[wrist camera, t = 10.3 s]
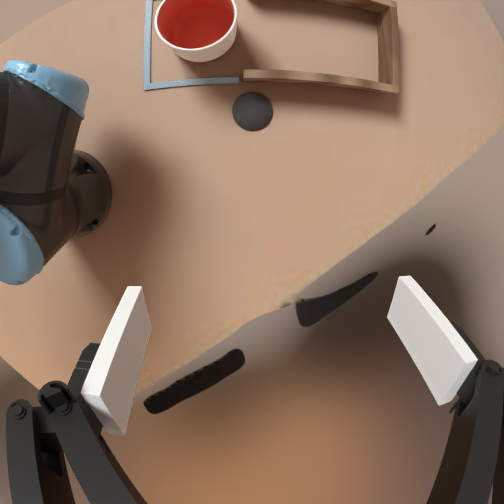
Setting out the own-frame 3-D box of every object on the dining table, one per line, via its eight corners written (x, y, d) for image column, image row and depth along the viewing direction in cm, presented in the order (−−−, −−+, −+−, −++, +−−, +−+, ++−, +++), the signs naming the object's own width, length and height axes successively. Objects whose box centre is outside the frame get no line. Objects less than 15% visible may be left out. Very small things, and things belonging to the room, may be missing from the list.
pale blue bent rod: (144, 90, 38) (143, 90, 38) (147, -4, 31) (146, -4, 31) (239, 83, 39) (239, 83, 39) (239, -12, 32) (239, -13, 31)
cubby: (242, 81, 39) (243, 77, 35) (242, -11, 32) (244, -23, 27) (384, 94, 40) (399, 93, 36) (382, 9, 33) (396, 1, 29)
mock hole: (232, 130, 43) (232, 130, 42) (232, 92, 40) (232, 92, 40) (272, 130, 43) (272, 130, 43) (272, 92, 40) (272, 92, 40)
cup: (177, 5, 32) (164, -18, 23) (242, 11, 34) (244, -13, 25) (164, 60, 37) (146, 49, 28) (229, 67, 38) (228, 55, 29)
